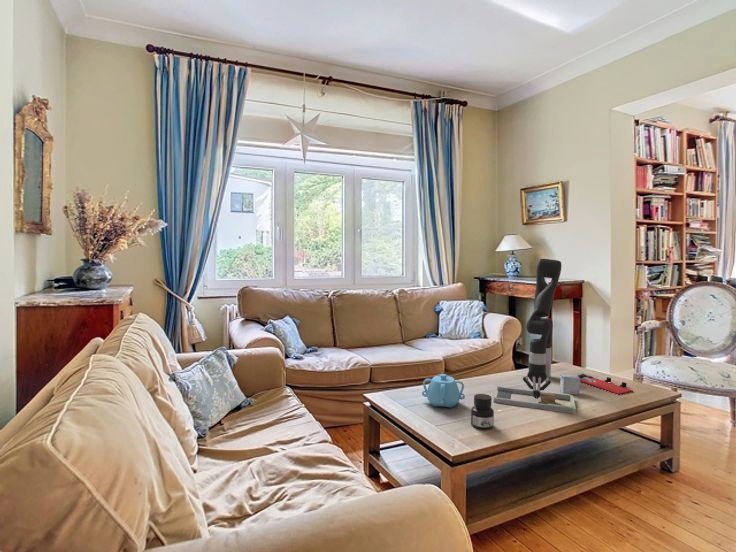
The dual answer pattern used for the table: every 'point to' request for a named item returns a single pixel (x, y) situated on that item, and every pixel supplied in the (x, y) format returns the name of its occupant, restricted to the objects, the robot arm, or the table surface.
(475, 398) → the ink bottle
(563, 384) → the medicine box
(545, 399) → the walnut block
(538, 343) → the robot arm
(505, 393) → the frame
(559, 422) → the table surface
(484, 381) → the table surface
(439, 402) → the decorative pot
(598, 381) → the red board with handle
